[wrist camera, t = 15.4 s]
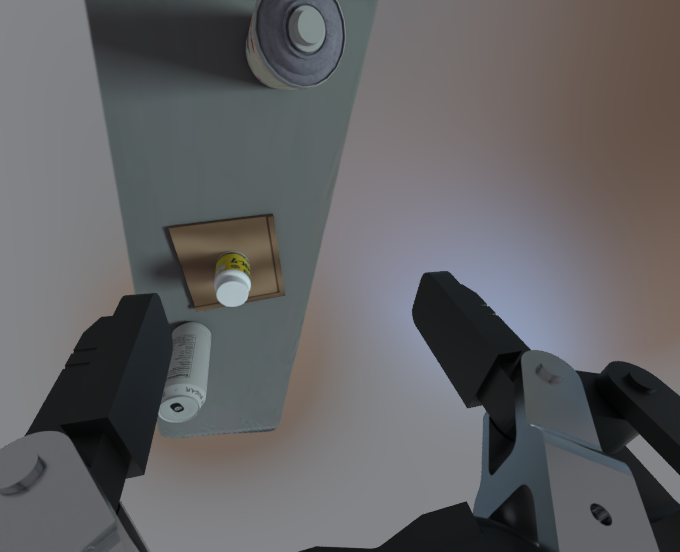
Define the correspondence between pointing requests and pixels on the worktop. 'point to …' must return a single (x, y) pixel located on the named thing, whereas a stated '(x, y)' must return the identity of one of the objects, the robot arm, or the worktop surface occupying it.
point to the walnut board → (224, 236)
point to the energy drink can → (186, 373)
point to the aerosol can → (295, 42)
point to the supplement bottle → (232, 279)
